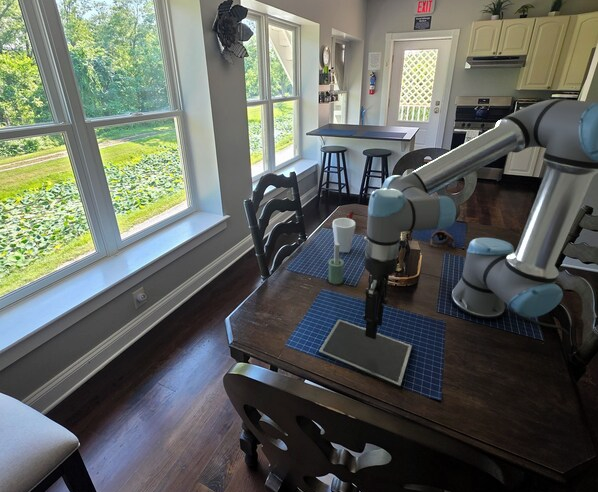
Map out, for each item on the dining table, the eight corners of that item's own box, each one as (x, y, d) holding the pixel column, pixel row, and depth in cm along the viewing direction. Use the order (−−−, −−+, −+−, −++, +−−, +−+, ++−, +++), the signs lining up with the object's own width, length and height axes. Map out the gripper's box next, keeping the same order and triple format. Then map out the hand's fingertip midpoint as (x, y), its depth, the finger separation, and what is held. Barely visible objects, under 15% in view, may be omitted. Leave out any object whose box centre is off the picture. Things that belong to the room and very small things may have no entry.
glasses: (351, 217, 169) (351, 208, 167) (382, 223, 162) (383, 214, 160) (341, 228, 158) (342, 219, 156) (374, 235, 151) (375, 225, 149)
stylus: (338, 278, 119) (340, 243, 113) (337, 281, 117) (338, 245, 111) (334, 277, 120) (335, 242, 114) (332, 280, 118) (333, 244, 112)
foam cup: (357, 247, 140) (358, 221, 135) (348, 257, 133) (349, 229, 128) (337, 242, 145) (338, 216, 140) (328, 251, 138) (328, 224, 133)
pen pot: (345, 278, 120) (346, 260, 116) (339, 286, 115) (340, 267, 112) (331, 274, 122) (332, 256, 119) (325, 282, 118) (326, 263, 115)
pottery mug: (459, 253, 136) (454, 240, 131) (436, 259, 139) (431, 247, 135) (450, 233, 145) (445, 221, 141) (429, 240, 148) (424, 228, 144)
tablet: (411, 348, 89) (412, 344, 89) (400, 388, 78) (400, 385, 78) (338, 321, 99) (338, 318, 99) (318, 353, 88) (318, 350, 88)
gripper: (376, 234, 84) (369, 305, 93) (353, 268, 70) (348, 348, 79) (405, 241, 81) (395, 314, 90) (387, 278, 67) (378, 360, 76)
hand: (373, 329), depth 85 cm, fingers open, 5 cm apart
